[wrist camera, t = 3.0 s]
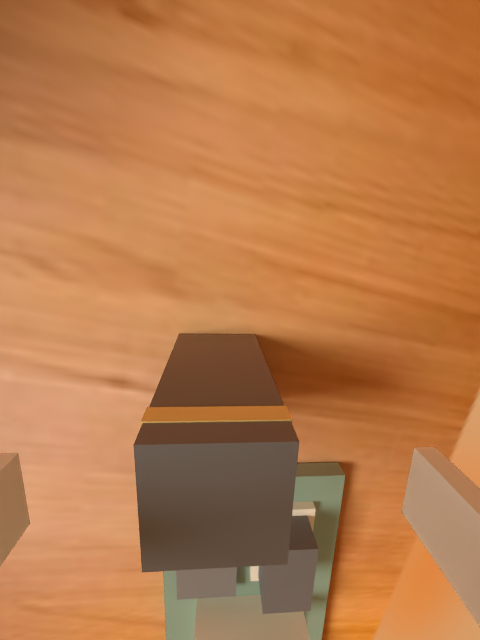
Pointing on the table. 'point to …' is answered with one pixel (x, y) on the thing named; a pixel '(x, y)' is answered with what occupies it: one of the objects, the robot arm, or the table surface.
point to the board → (325, 538)
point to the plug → (215, 460)
